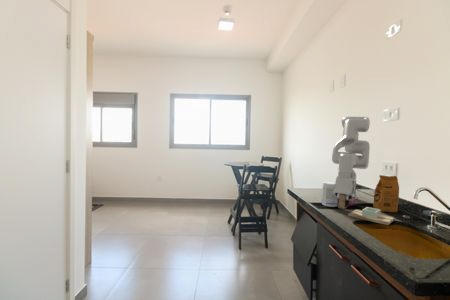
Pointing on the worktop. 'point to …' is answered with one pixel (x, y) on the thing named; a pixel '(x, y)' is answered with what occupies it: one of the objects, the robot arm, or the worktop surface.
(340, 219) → the worktop surface
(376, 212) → the pale green block
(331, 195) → the supplement tub
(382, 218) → the maple board
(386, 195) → the coffee package
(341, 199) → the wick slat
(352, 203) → the candy bar box
